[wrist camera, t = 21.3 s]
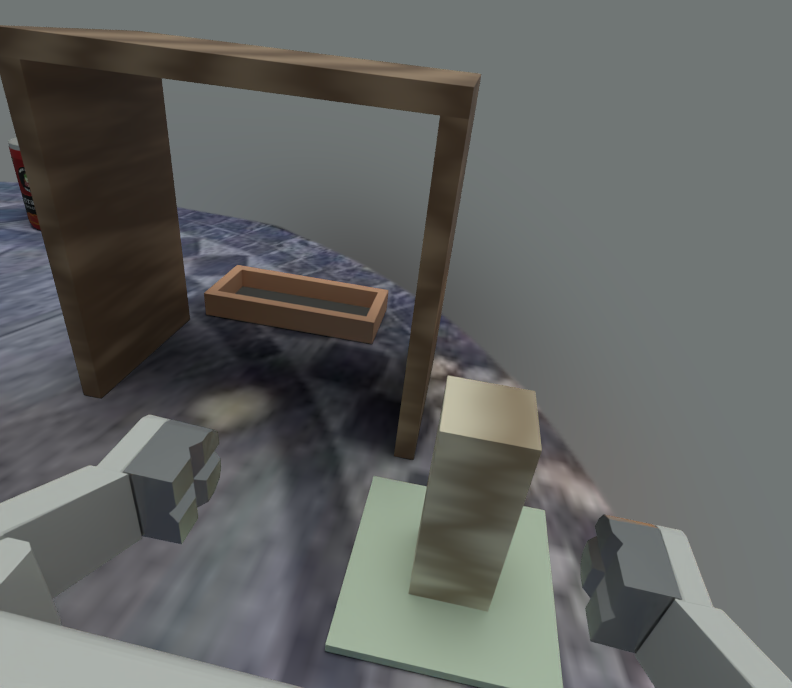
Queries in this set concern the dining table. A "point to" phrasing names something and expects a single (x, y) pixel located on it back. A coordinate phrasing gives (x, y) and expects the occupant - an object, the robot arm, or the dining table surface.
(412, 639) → the sage pad
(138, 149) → the walnut tunnel
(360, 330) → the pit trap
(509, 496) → the ash block
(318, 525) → the dining table surface
